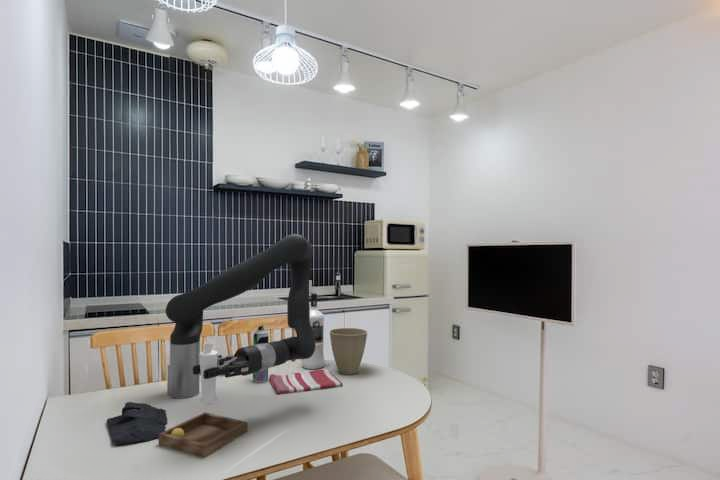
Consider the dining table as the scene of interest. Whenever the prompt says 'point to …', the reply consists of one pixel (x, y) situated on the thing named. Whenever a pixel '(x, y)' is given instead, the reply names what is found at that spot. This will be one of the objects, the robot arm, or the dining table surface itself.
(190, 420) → the tray
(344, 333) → the plant pot
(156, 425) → the dark folded fabric bundle
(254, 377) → the spray can
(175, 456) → the dining table surface
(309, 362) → the vodka
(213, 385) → the white faceted vase
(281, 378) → the dish towel
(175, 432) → the ball
